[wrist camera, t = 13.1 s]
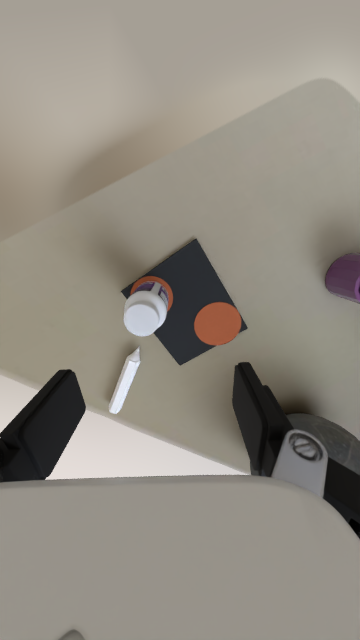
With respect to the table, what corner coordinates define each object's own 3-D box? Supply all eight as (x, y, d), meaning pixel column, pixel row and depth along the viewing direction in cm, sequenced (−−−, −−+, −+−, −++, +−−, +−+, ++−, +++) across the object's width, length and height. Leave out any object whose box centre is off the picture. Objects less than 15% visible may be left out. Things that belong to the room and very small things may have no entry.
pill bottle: (130, 305, 31) (110, 331, 22) (141, 274, 29) (125, 289, 20) (161, 318, 32) (154, 348, 23) (174, 288, 30) (172, 309, 21)
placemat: (121, 290, 30) (120, 291, 30) (195, 238, 28) (196, 238, 27) (181, 366, 36) (181, 368, 36) (248, 329, 33) (249, 330, 33)
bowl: (230, 455, 46) (252, 547, 32) (252, 389, 38) (293, 473, 24) (310, 461, 47) (365, 552, 33) (347, 398, 39) (439, 483, 25)
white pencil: (141, 341, 35) (118, 403, 40) (131, 340, 33) (107, 404, 39) (147, 349, 33) (121, 413, 38) (135, 349, 32) (110, 415, 37)
